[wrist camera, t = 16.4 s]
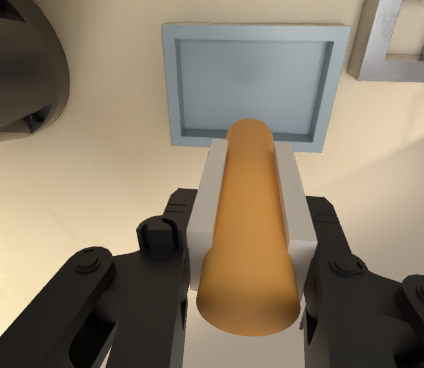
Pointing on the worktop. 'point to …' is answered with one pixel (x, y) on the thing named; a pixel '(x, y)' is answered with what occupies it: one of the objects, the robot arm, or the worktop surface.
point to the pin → (249, 243)
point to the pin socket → (382, 47)
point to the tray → (252, 79)
